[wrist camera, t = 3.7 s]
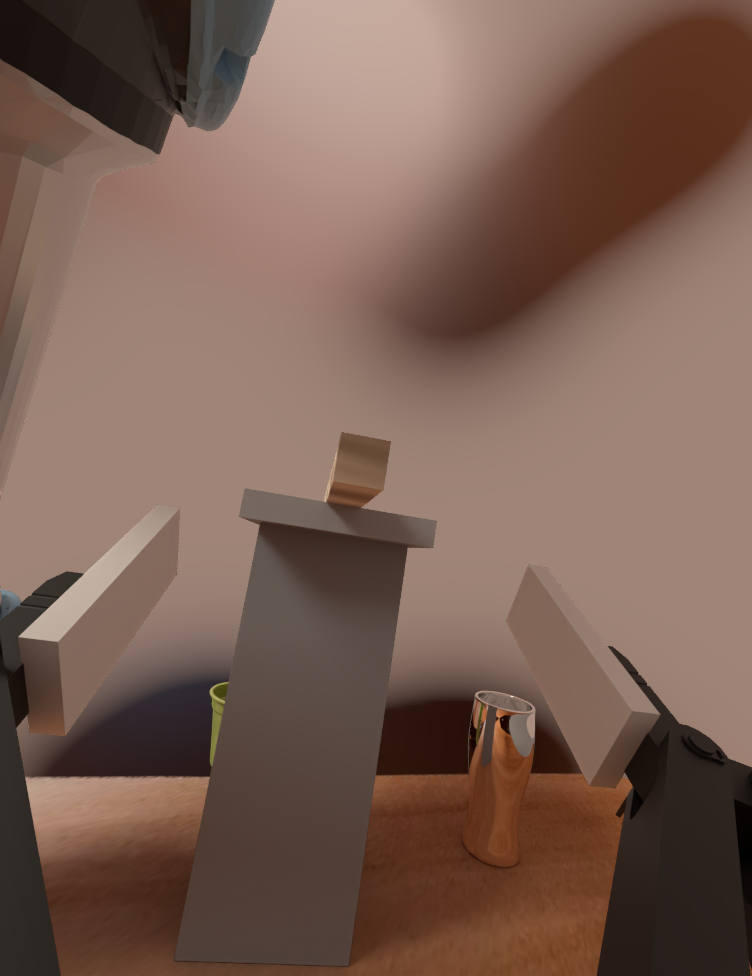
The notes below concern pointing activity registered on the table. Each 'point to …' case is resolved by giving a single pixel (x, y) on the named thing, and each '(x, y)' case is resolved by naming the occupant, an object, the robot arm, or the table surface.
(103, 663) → the robot arm
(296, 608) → the grey stand
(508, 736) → the beer glass
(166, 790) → the table surface
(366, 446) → the wooden bar
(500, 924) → the table surface
